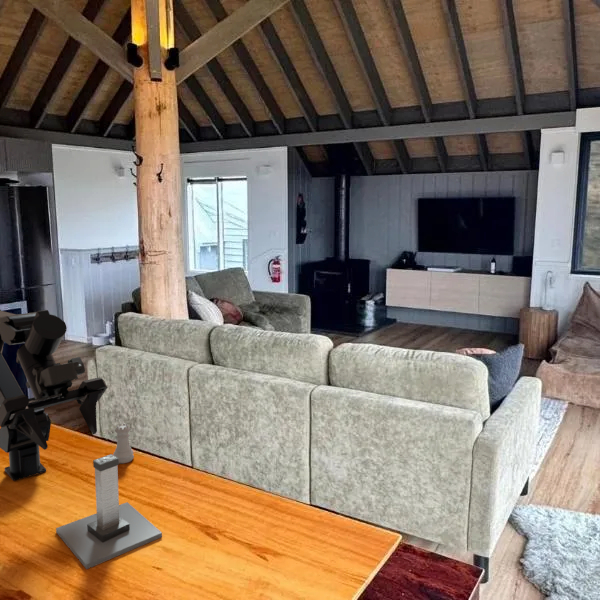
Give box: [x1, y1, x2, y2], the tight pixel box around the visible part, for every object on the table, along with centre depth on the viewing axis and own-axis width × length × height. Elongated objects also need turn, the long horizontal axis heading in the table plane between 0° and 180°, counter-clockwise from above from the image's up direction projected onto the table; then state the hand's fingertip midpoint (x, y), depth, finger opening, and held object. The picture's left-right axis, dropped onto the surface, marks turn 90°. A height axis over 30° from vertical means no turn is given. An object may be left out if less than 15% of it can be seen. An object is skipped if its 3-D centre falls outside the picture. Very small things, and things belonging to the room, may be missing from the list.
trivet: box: [55, 501, 163, 570], centre depth 95 cm, size 13×13×1 cm
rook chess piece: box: [112, 422, 135, 464], centre depth 122 cm, size 4×4×8 cm
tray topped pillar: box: [87, 453, 130, 543], centre depth 93 cm, size 5×5×13 cm
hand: (71, 440), depth 100 cm, fingers open, 9 cm apart
